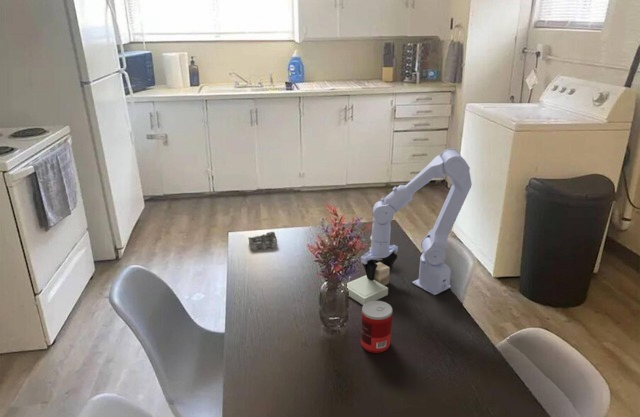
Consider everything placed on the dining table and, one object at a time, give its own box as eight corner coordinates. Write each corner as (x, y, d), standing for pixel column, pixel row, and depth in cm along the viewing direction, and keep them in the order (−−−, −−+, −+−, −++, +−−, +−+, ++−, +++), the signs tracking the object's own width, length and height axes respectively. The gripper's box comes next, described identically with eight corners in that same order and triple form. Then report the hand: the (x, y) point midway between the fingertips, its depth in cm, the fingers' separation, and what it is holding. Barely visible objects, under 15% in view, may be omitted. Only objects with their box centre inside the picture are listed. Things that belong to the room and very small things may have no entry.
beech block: (388, 283, 154) (389, 267, 151) (378, 287, 151) (379, 271, 149) (378, 277, 157) (379, 261, 155) (368, 282, 154) (369, 266, 152)
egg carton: (276, 240, 184) (275, 231, 183) (278, 249, 177) (277, 239, 176) (248, 242, 182) (247, 233, 181) (249, 251, 176) (248, 241, 174)
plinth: (387, 294, 147) (388, 287, 146) (364, 305, 141) (364, 298, 140) (365, 281, 154) (366, 274, 153) (342, 291, 149) (342, 284, 148)
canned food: (394, 340, 126) (397, 305, 122) (382, 357, 120) (384, 321, 115) (368, 331, 130) (370, 297, 126) (355, 347, 123) (356, 312, 119)
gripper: (387, 229, 155) (385, 265, 160) (354, 240, 147) (353, 278, 152) (403, 236, 150) (400, 274, 155) (370, 248, 141) (368, 287, 146)
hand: (378, 277), depth 153 cm, fingers open, 6 cm apart
